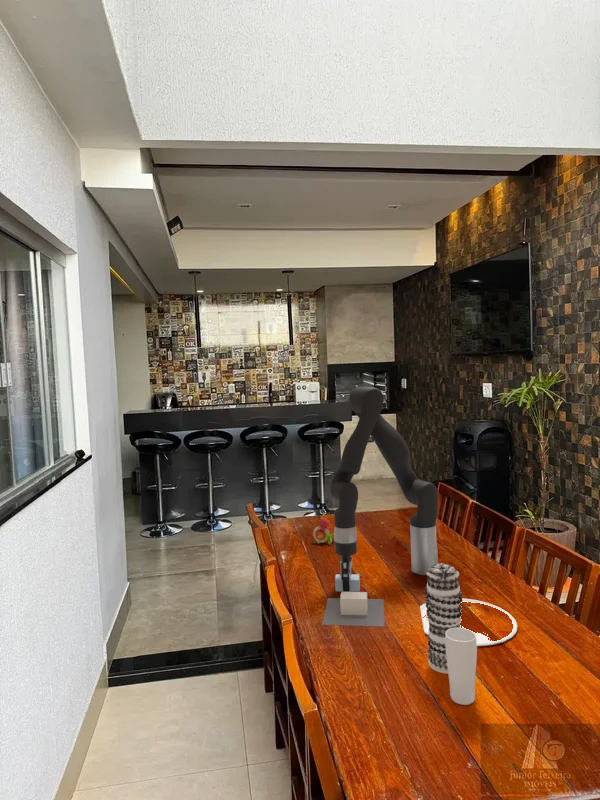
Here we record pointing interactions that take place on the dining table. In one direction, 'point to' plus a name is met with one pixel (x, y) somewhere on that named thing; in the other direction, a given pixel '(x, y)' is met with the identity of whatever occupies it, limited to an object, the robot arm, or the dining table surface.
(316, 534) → the bird rattle
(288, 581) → the dining table surface
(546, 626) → the dining table surface
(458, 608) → the decorative candle
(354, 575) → the pale blue brick
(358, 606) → the cream base brick
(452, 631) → the drinking glass
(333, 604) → the charcoal baseplate
